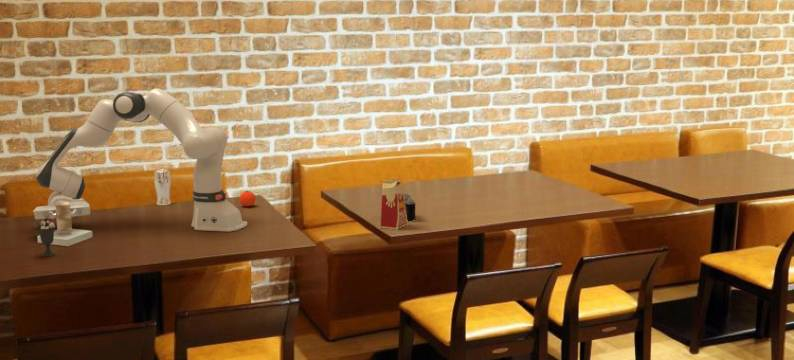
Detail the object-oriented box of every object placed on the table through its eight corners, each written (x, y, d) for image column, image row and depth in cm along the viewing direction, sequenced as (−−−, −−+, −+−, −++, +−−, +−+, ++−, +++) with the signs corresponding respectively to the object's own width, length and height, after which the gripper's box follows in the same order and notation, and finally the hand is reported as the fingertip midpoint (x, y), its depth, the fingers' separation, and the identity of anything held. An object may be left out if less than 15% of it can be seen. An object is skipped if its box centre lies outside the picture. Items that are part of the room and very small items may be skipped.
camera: (423, 219, 391) (423, 196, 389) (409, 222, 387) (409, 198, 385) (402, 213, 403) (402, 189, 401) (389, 215, 399) (389, 191, 397)
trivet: (92, 237, 365) (92, 230, 364) (67, 246, 352) (67, 239, 351) (63, 233, 370) (63, 227, 369) (37, 242, 357) (37, 236, 356)
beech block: (70, 227, 363) (69, 201, 361) (71, 230, 359) (70, 204, 357) (57, 228, 361) (55, 202, 359) (57, 231, 357) (56, 205, 355)
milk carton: (407, 225, 382) (407, 176, 378) (397, 230, 374) (397, 180, 370) (387, 222, 386) (386, 174, 382) (377, 228, 378) (376, 178, 374)
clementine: (237, 205, 418) (236, 189, 416) (252, 203, 421) (252, 188, 419) (242, 209, 411) (241, 192, 409) (257, 207, 414) (257, 191, 412)
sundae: (62, 252, 344) (59, 212, 341) (49, 257, 337) (46, 216, 334) (47, 251, 346) (44, 210, 343) (34, 255, 339) (31, 215, 336)
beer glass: (167, 206, 416) (165, 172, 414) (152, 205, 418) (151, 171, 415) (174, 202, 423) (172, 169, 420) (159, 201, 425) (158, 168, 422)
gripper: (32, 202, 366) (33, 209, 354) (87, 197, 374) (91, 205, 361) (33, 218, 367) (34, 226, 355) (88, 213, 375) (92, 221, 363)
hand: (63, 215), depth 358 cm, fingers closed on beech block, 5 cm apart
